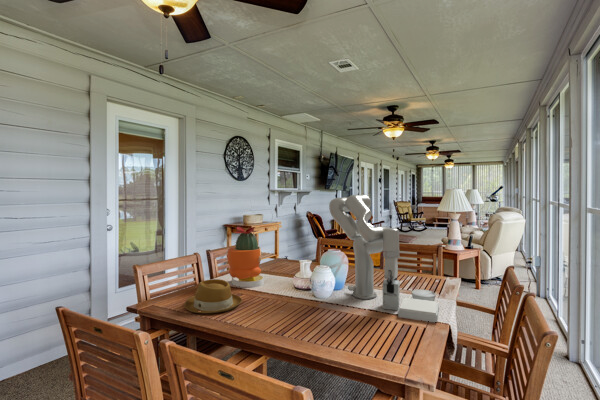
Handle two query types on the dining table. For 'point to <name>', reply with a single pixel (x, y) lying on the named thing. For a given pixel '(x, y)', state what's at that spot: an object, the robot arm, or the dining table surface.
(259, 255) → the potted cactus
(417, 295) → the ramekin
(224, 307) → the fedora
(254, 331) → the dining table surface
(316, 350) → the dining table surface
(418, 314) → the stand
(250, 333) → the dining table surface
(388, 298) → the supplement box
